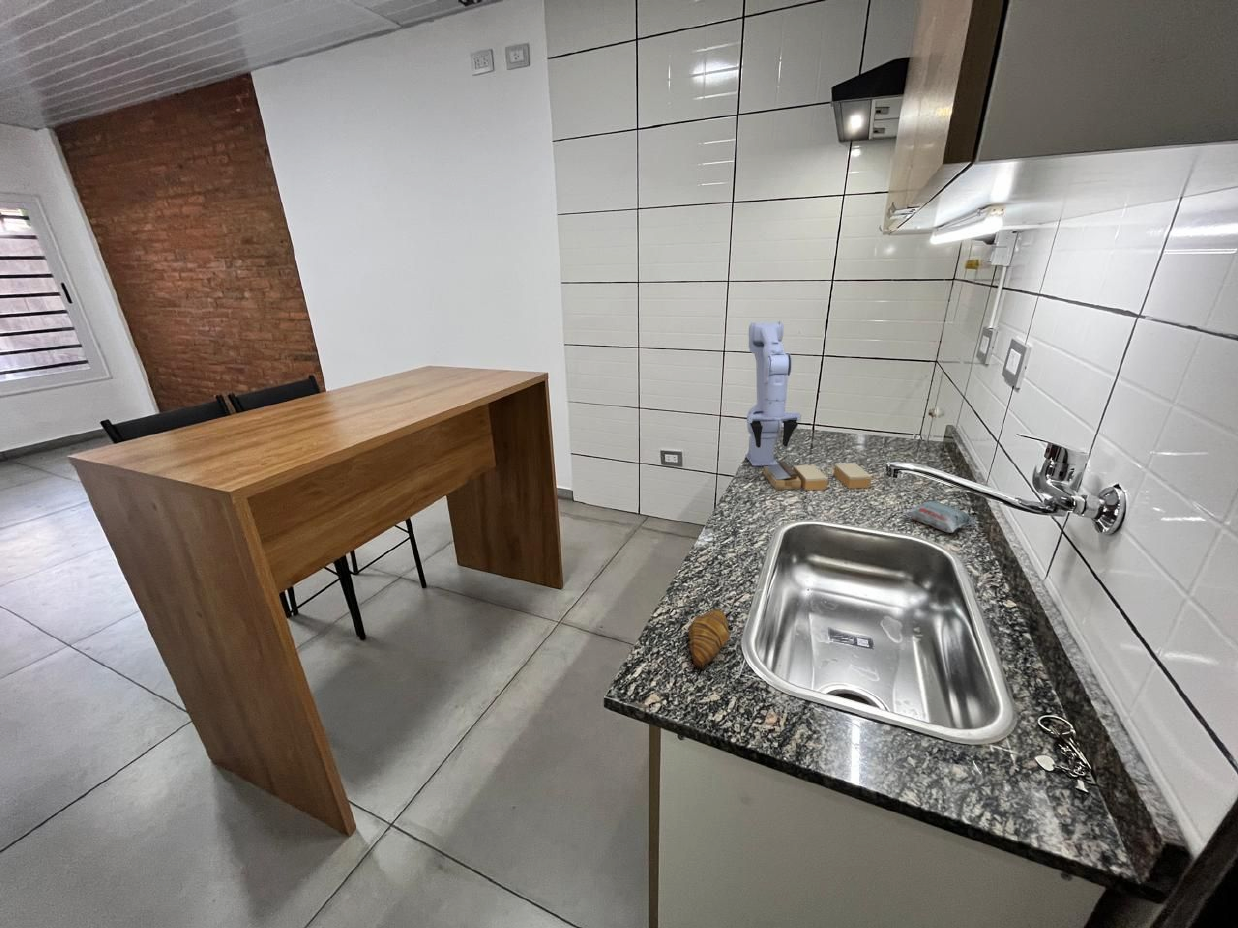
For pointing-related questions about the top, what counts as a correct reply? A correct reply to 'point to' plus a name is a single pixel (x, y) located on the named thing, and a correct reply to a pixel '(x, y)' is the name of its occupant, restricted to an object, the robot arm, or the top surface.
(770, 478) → the knife block
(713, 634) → the croissant
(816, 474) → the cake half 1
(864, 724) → the top surface
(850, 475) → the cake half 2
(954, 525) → the packaged food
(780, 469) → the knife
